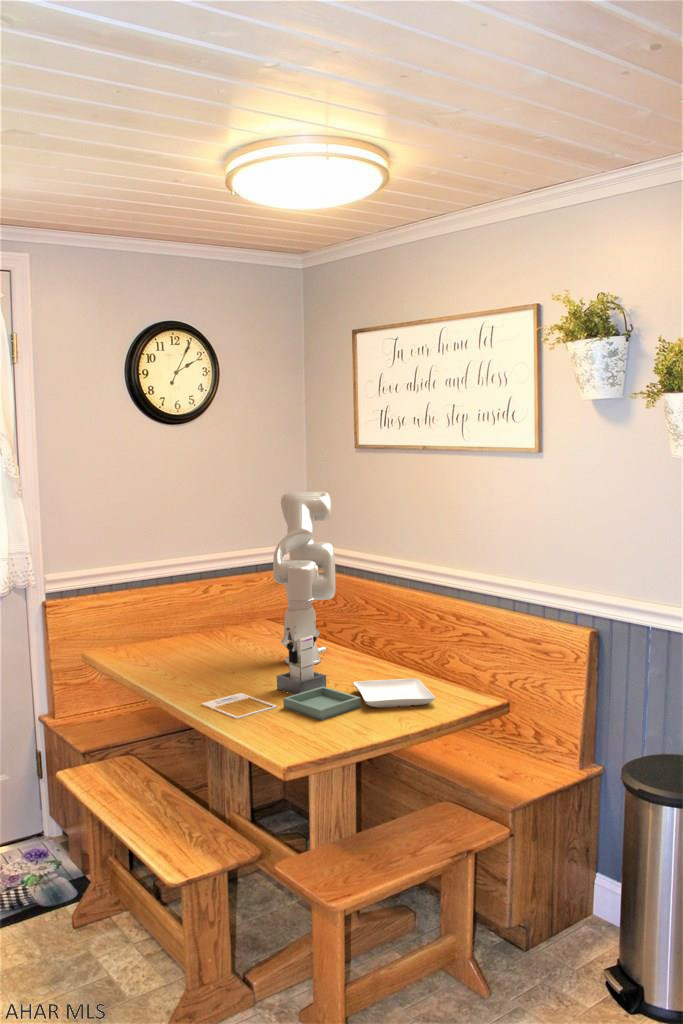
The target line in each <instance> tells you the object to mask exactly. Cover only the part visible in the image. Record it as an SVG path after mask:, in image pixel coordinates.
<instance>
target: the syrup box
mask: <svg viewBox="0 0 683 1024" xmlns="http://www.w3.org/2000/svg"><path fill="white" fill-rule="evenodd" d="M289 639H290V637H289ZM292 646H293V642H292ZM295 651H297V663H296V664H294V663H291V662H289V664H288V669H289V671H288V672H289V678H291V679H295V680H298V681H303V680H306V679H310V678H313V677H314V672H315V671H314V665H313V636H306V637H303V638H300V639H299V640H298V642H297V647H296V650H295Z"/></svg>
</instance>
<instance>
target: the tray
mask: <svg viewBox="0 0 683 1024" xmlns="http://www.w3.org/2000/svg"><path fill="white" fill-rule="evenodd" d="M361 703H362V701H361V696H356V695H353V694H350V693H346V692H343V691H340V690H336V689H334V688H330V687H327V686H326V687H320V688H316V689H313V690H309V691H306V692H303V693H299V694H296V695H293V694H291V695H290V696H286V697H283V709H285V710H287V711H291V712H293V713H297V714H300V715H302V716H306V717H309V718H312V719H315V720H317V721H320V722H321V721H325V720H326V719H330V718H334V717H336V716H340V715H342V714H345V713H349V712H351V711H354V710H357V709H360V708H361V707H362V706H361Z"/></svg>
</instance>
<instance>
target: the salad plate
mask: <svg viewBox="0 0 683 1024" xmlns="http://www.w3.org/2000/svg"><path fill="white" fill-rule="evenodd" d="M352 685H353V686H354V688H356V690H357V691H358V692H359V694H360V695H361V697H362V699H363V701H364V703H365V704H366V705H368V706H369V707H373V708H379V709H380V708H382V709H383V708H399V707H398V706H400V707H411V705H415V706H423V705H428V704H430V703H432V702H434V700H435V699H436V696H435V695H434V694H433V693H432V692H431V691H430V690H429V689H428V687H426V686H425V685H424V683H422V681H421V680H420V679H419V678H398V679H397V678H396V679H395V678H394V679H377V680H374V679H373V680H363V681H362V680H361V681H353V682H352Z"/></svg>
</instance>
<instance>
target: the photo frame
mask: <svg viewBox="0 0 683 1024" xmlns="http://www.w3.org/2000/svg"><path fill="white" fill-rule="evenodd" d="M247 698H252V699H254V700H253V701H255V700H257V701H259V702H258V703H260V702H262V703H261V704H263V703H264V704H263V705H266V704H267V705H266V706H268V705H269V707H266V708H262V709H259V710H256V711H252V712H248V713H245V714H242V715H238V716H237V715H235V714H232V713H230V712H227V711H224V710H222V709H220V708H218V707H217V706H221V705H224V704H228V703H232V702H236V701H240V700H243V701H245V700H244V699H247ZM252 699H251V700H252ZM247 700H248V699H247ZM257 701H256V702H257ZM240 702H241V701H240ZM236 703H237V702H236ZM201 704H202V705H205V706H208V707H210V708H213V709H215V710H217V711H220V712H222V713H224V714H223V715H225V714H227V715H229V716H228V717H230V716H231V717H230V718H232V717H233V718H232V719H235V720H239V719H238V718H240V719H243V718H247V717H250V716H253V714H254V715H257V714H261V713H263V711H264V712H268V711H271V710H275V709H278V706H277V705H275V704H273V703H270V702H267V701H264V700H262V699H259V698H256V697H254V696H251V695H248V694H246V693H243V692H239V693H235V694H232V695H228V696H227V695H226V696H223V697H220V698H216V699H213V700H209V701H205V702H202V703H200V705H201ZM232 704H233V703H232ZM202 705H201V706H202ZM205 706H204V707H205ZM271 706H272V707H271ZM215 707H217V708H215ZM221 707H222V706H221ZM210 708H209V709H210ZM215 710H214V711H215ZM267 710H268V711H267ZM217 711H216V712H217ZM220 712H219V713H220ZM260 712H261V713H260ZM222 713H221V714H222ZM256 713H257V714H256ZM227 715H226V716H227ZM249 715H250V716H249ZM246 716H247V717H246Z"/></svg>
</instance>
